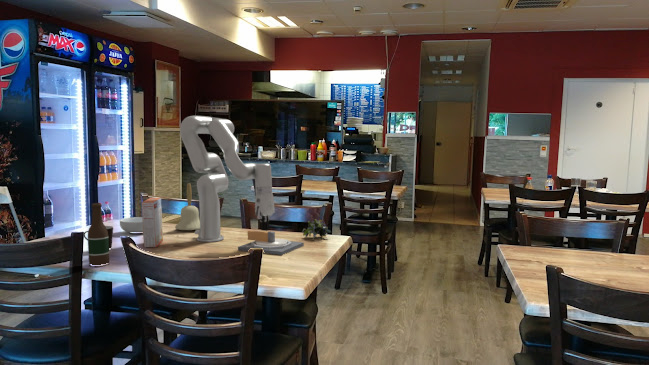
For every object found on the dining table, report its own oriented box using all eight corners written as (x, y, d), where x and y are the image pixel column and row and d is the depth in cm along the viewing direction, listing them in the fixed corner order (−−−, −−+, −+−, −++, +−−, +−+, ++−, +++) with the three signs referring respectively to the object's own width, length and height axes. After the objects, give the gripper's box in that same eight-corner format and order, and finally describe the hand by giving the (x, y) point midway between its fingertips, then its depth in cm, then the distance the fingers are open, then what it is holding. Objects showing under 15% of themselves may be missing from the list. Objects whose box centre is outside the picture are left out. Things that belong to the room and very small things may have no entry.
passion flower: (320, 247, 247) (335, 229, 245) (312, 248, 237) (327, 228, 235) (304, 233, 251) (318, 214, 249) (295, 233, 241) (310, 213, 239)
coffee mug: (118, 248, 221) (117, 226, 220) (104, 253, 213) (103, 230, 212) (97, 246, 225) (96, 225, 224) (82, 251, 217) (81, 228, 216)
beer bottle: (92, 262, 198) (90, 202, 195) (112, 261, 198) (110, 202, 196) (85, 267, 190) (82, 205, 188) (106, 266, 191) (103, 204, 188)
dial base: (238, 250, 218) (237, 244, 218) (262, 241, 236) (262, 236, 236) (281, 255, 209) (281, 249, 209) (303, 245, 227) (303, 240, 227)
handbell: (168, 231, 261) (167, 183, 259) (189, 226, 275) (188, 181, 272) (191, 233, 254) (189, 185, 252) (211, 228, 268) (209, 182, 265)
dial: (239, 244, 221) (239, 232, 221) (257, 238, 234) (257, 227, 233) (276, 248, 213) (276, 236, 213) (292, 242, 226) (292, 230, 225)
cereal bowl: (147, 236, 249) (147, 222, 248) (114, 236, 249) (114, 222, 249) (159, 229, 266) (158, 216, 265) (128, 229, 266) (127, 216, 265)
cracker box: (150, 241, 236) (148, 197, 234) (163, 241, 237) (162, 197, 235) (142, 248, 222) (140, 201, 220) (156, 247, 223) (155, 201, 221)
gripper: (262, 192, 219) (263, 233, 221) (279, 189, 233) (280, 227, 234) (247, 192, 222) (249, 232, 224) (265, 188, 236) (266, 227, 237)
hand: (265, 230), depth 229 cm, fingers closed
